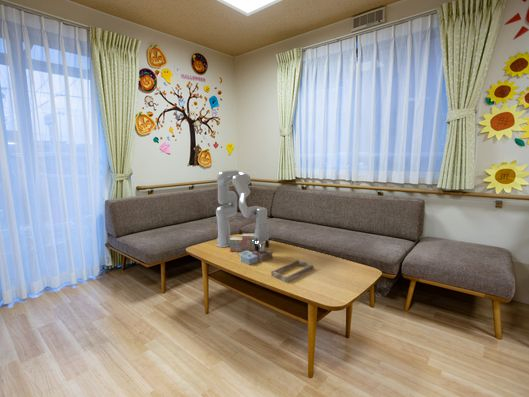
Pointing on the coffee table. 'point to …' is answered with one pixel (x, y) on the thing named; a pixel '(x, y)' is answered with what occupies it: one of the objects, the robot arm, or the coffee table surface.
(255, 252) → the square-holed wooden block
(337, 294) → the coffee table surface
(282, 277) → the rectangular wooden corral frame
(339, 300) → the coffee table surface
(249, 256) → the block
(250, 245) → the stack of blocks
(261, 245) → the cylinder
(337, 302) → the coffee table surface
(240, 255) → the tray
